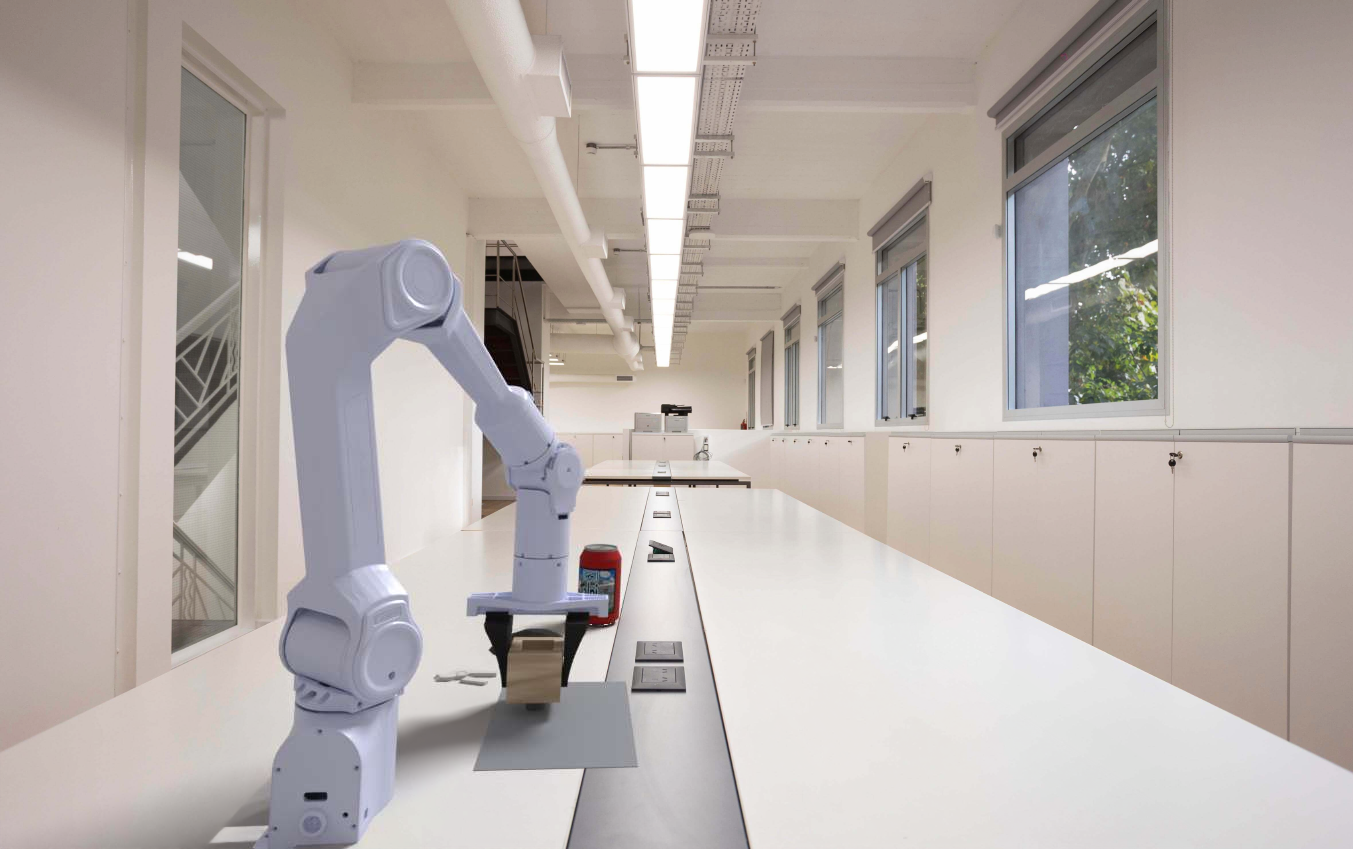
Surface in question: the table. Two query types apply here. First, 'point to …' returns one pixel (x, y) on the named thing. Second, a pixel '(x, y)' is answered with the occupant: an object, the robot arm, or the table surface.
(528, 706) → the steel post
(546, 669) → the birch collar
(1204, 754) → the table surface
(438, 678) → the pliers
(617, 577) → the beverage can
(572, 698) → the slate board
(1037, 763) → the table surface
